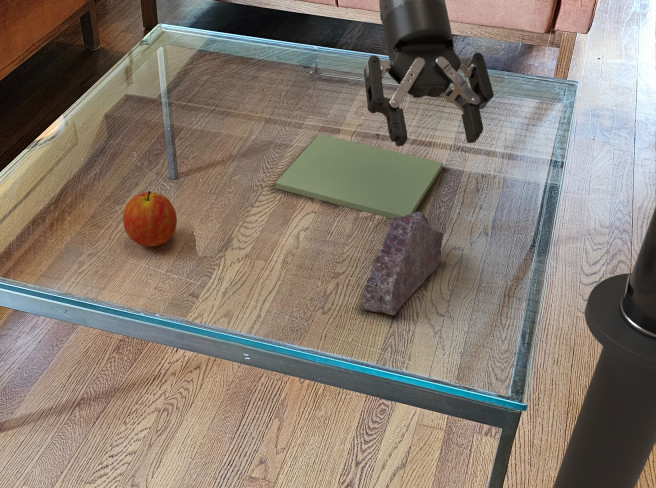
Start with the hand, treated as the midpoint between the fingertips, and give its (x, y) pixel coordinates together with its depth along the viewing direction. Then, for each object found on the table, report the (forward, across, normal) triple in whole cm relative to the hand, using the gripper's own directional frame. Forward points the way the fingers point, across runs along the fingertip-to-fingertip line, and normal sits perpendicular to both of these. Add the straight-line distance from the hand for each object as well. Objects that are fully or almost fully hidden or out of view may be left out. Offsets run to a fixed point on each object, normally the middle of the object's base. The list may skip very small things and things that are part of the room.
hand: (438, 141), depth 94 cm
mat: (-8, 0, +28) cm, 30 cm away
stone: (+12, -2, +15) cm, 19 cm away
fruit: (+1, -32, +24) cm, 40 cm away
